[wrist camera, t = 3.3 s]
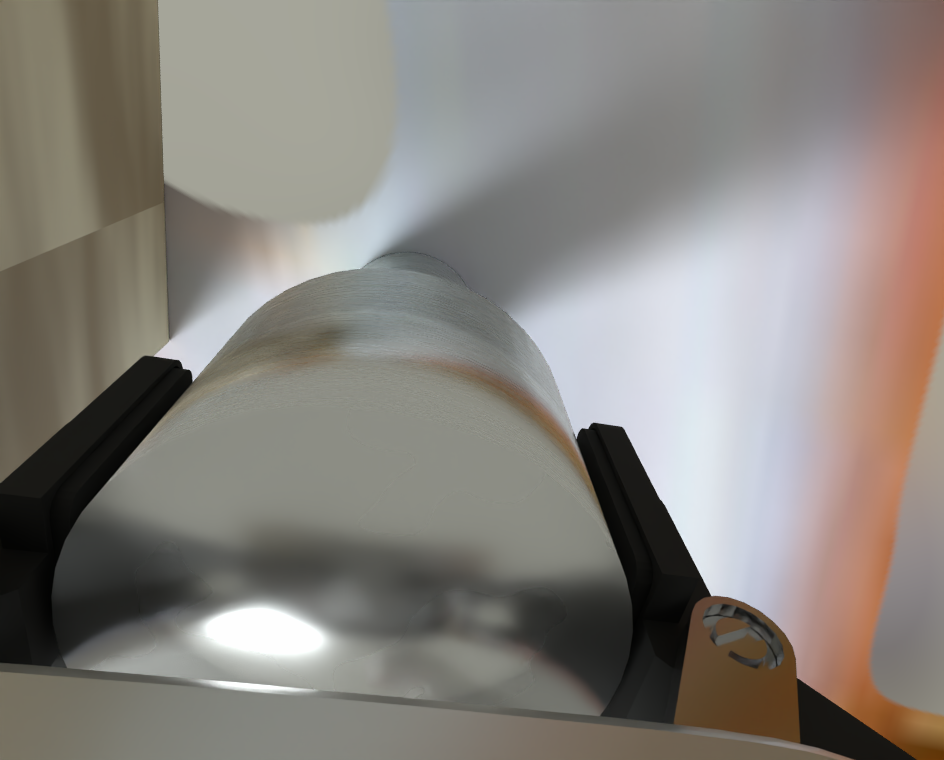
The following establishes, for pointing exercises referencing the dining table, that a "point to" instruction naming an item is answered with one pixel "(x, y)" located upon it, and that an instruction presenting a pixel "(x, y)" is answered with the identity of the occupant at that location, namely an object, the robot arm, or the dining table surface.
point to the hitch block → (77, 209)
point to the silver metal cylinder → (359, 512)
